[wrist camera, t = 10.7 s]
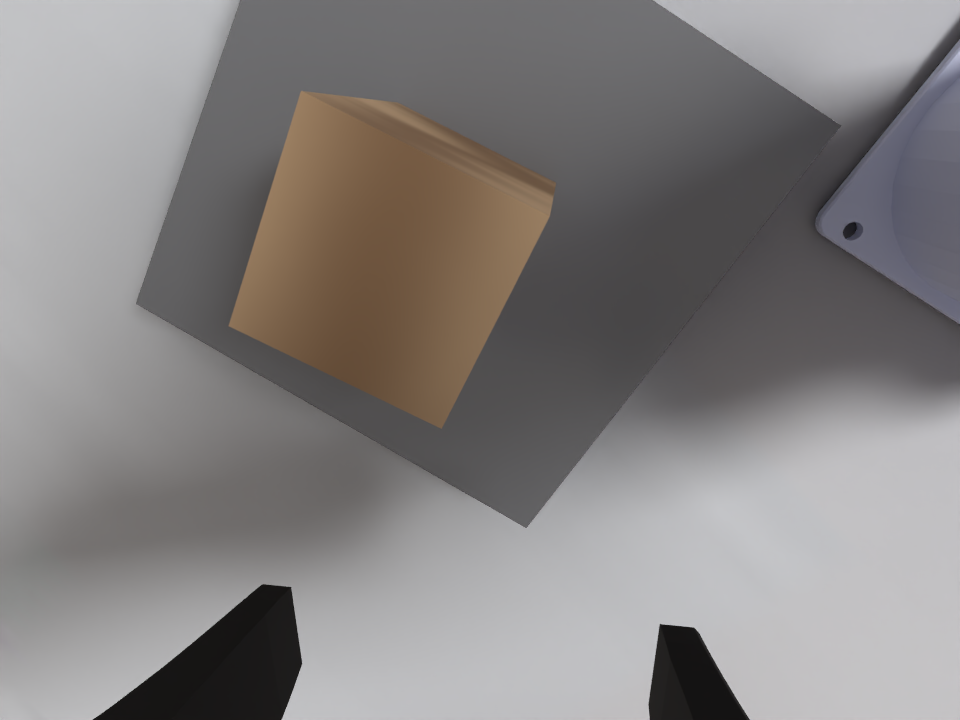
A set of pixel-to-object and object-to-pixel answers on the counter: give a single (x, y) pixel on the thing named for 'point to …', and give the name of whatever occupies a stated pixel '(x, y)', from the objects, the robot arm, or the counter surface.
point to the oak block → (388, 249)
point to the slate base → (533, 144)
